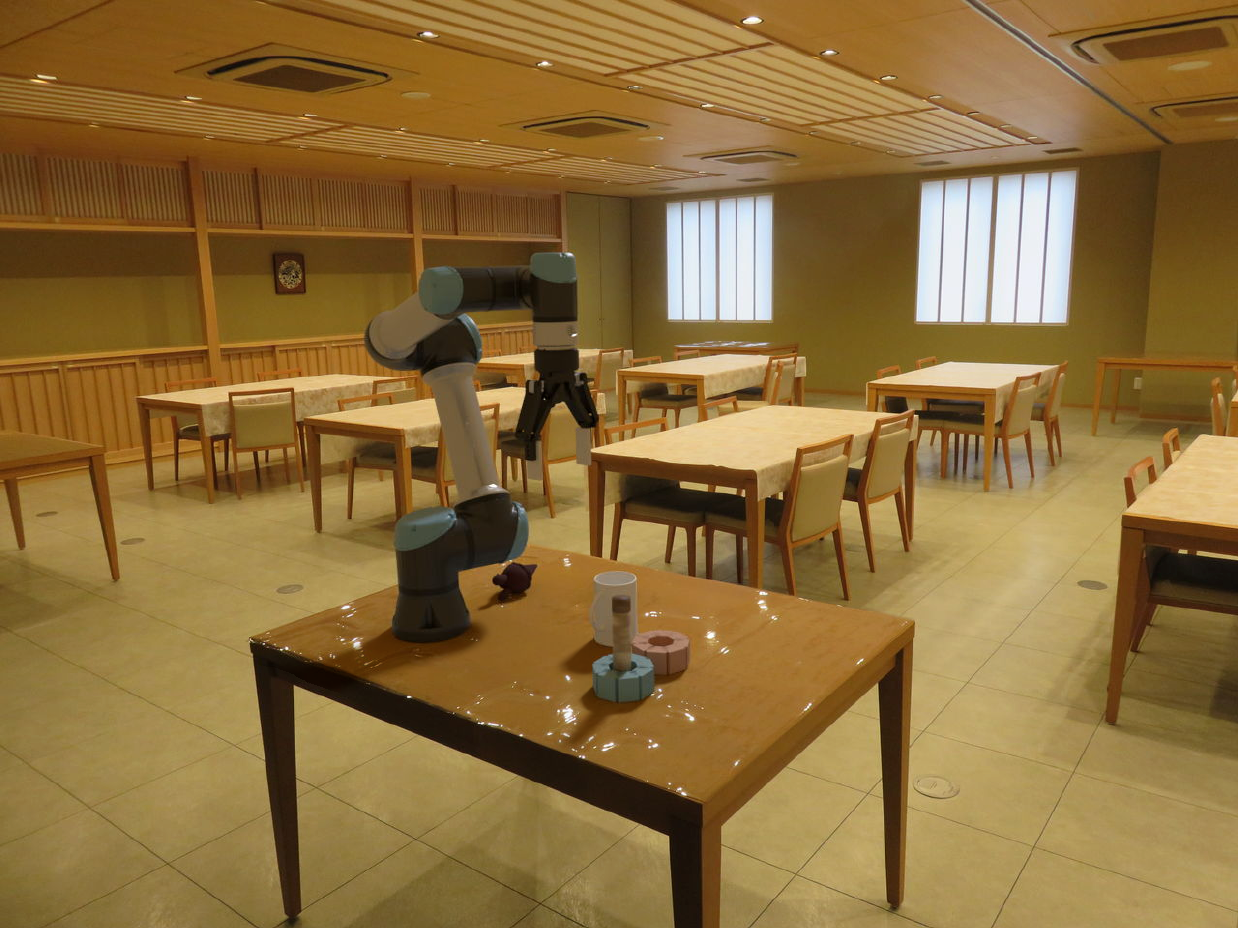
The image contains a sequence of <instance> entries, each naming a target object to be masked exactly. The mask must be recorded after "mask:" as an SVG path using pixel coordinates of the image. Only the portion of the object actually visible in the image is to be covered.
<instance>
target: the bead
mask: <svg viewBox="0 0 1238 928" xmlns="http://www.w3.org/2000/svg"><path fill="white" fill-rule="evenodd" d="M591 667H592V668H591V669H592V670H591V672H592V689H593V690H594V693H595V697H596V696H597V697H598V699H599V698H600V699H603V700H606V701H610V702H613V703H617V702H618V703H627V702H635V701H637V702H638V701H640V699H641V700H643V699H645V698H646V697H648V696H649V695H650V694H652V693H653V692H655V674H654V666H653V664H652V662H651V661H650V659H647V657H644V656H640V655H636V654H632V652H631V671H626V672H618V671H614V670H613V653H611V654H607V655H603V656H601V658H599V659H597V660H596V661H594V662H592V664H591Z"/></svg>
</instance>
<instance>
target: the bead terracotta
mask: <svg viewBox="0 0 1238 928" xmlns="http://www.w3.org/2000/svg"><path fill="white" fill-rule="evenodd" d="M690 640H691V639H690V638H689V637H688V636H686V635H685V634H682V633H680V632H679V631H676V632H675V631H674V630H661V629H660V630H659V629H656V630H653V629H652V630H649V631H645V632H641V633H638V635H637V636H635V638H634V640H633V642H632V644H631V653H632V654H636V655H640V656H644V657H647V659H650V661H651V662H652V664H653V666H654V675H663V676H666V675H667V674H668V675H673V674H676V673H679V672H682V671H685V670H686V669H688V667H689V664H690V661H691V657H690V656H691V650H690V649H691V645H690V644H691V641H690Z"/></svg>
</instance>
